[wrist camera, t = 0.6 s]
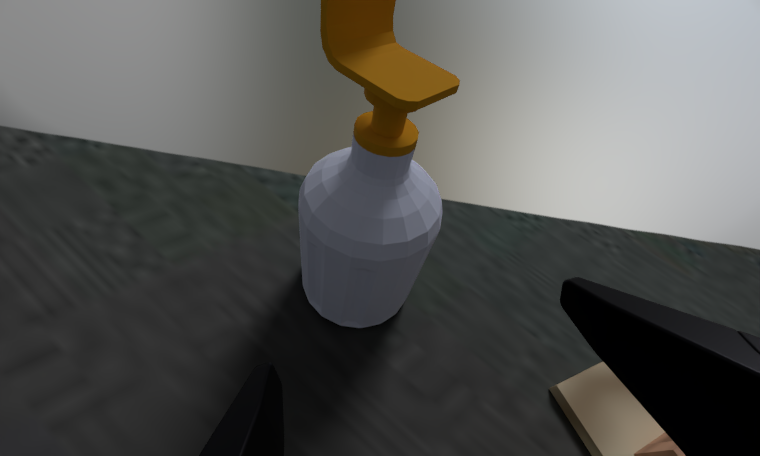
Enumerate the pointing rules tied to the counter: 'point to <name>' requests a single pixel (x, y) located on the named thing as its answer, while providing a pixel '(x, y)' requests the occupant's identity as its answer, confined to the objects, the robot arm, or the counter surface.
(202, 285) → the counter surface
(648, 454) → the maple holder board
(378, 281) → the soap bottle
